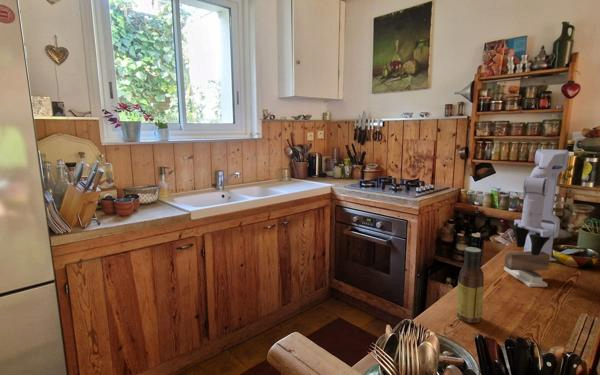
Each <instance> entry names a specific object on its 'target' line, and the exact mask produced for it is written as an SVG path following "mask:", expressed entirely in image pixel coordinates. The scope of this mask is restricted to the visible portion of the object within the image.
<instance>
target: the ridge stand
mask: <svg viewBox="0 0 600 375" xmlns="http://www.w3.org/2000/svg"><path fill="white" fill-rule="evenodd" d="M503 270H504V271H506V272H507V273H508V274H510V275H511V276H513V277H514V278H515V279H517V280H518V281H520V282H522V284H524V285H526V286H528V287H530V288H531V287H533V288H534V287H536V288H541V287H543V288H545V287H547V288H548V283H547V282H545V281H544V280H543V276H542V275H541V274H540V273H537V272H536V271H535V270H509V269H508V268H506V267H505V266H503Z"/></svg>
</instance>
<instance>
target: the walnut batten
mask: <svg viewBox="0 0 600 375" xmlns="http://www.w3.org/2000/svg"><path fill="white" fill-rule="evenodd" d="M549 259H550V255H549V254H547V253H545V252H543V251H540V254H539V255H532V253H531V251H524V250H522V251H520V250H519V251H517V250H516V251H515V250H514V251H513V250H512V251H511V250H508V251H505V259H504V264H503V265H504V266H503V267H506V268H508V269H509V270H533V271H548V270H549V264H550V261H549Z"/></svg>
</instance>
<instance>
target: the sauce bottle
mask: <svg viewBox="0 0 600 375" xmlns="http://www.w3.org/2000/svg"><path fill="white" fill-rule="evenodd" d="M463 250H464V251H463V253H464V261H463V266H462V267H461V269H460V271H459V273H458V274H459V275H458V278H457V279H458V280H457V296H456V297H457V299H456V300H457V301H456V312H457V317H458V318H459V319H460V320H461V321H463V322H465V323H470V324H478V323H480V322H481V321H482V316H483V307H484V306H483V304H484V291H485V290H484V289H485V284H484V279H485V276H484V275H485V274H484V271H483V269H482V267H481V256H482V249H481V248H478V247H473V246H467V247H465V248H464V249H463Z"/></svg>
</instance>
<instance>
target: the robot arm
mask: <svg viewBox="0 0 600 375" xmlns="http://www.w3.org/2000/svg"><path fill="white" fill-rule="evenodd" d="M569 155H570V151H569V150H568V149H547V148H545V149H544V148H543V149H542V148H538V149H537V150H536V151H535V155H534V164H535V166H534V168H533V170H532V171H531V173H530V175H529V177H527V178H524V180H523V186H522V190H523V191H522V192H523V193H522V198H523V203H522V213H521V219H514V222H513V225H514V226H511V230H512V232H513V234H514V238H515V241H516V246H517V248H523V251H531V253H532V255H539V254H540V251H543V252H545V253H547V254H549V255H550V259H549V262H556V261H557V259H556V258H554V257H552V252H553V244H554V239H556V238H558V237H559V233H560V229H561V228H560V227H561V225H560V222H561V220H560V217H558V216H557V215H556V214H554V213H553V210H554V205H555V197H556V191H557V185H558V177H559V175H560V174H561V173H562V172H566V171H567V169H568V168H567V167H568V161H569V157H570V156H569Z"/></svg>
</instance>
